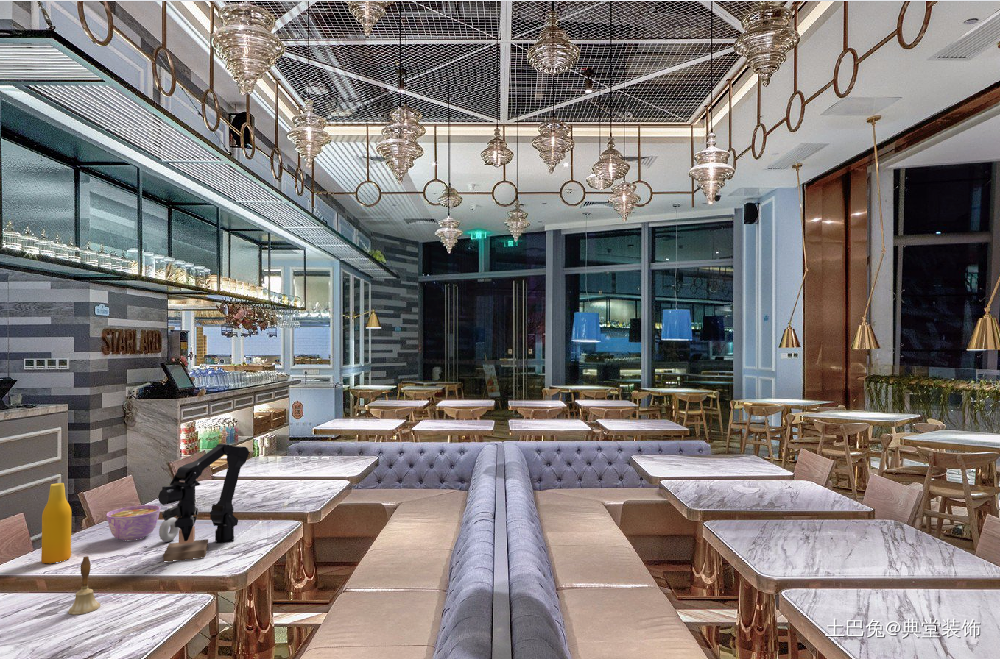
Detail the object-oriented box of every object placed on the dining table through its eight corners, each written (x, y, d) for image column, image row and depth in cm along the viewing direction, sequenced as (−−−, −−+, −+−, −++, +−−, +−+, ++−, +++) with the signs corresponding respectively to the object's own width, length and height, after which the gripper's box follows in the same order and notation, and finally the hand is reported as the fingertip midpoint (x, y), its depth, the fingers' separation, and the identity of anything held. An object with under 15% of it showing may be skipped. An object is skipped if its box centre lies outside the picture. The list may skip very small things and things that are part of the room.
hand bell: (78, 604, 189) (79, 553, 189) (106, 602, 189) (106, 552, 190) (61, 615, 180) (62, 562, 181) (90, 614, 181) (91, 561, 182)
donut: (164, 545, 245) (164, 520, 246) (156, 545, 246) (157, 520, 246) (181, 537, 255) (181, 514, 256) (173, 537, 256) (173, 513, 256)
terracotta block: (194, 538, 238) (194, 526, 238) (193, 542, 233) (193, 529, 233) (180, 540, 236) (180, 527, 236) (178, 544, 231) (178, 531, 231)
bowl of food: (96, 547, 244) (97, 518, 244) (117, 532, 263) (117, 506, 264) (150, 543, 248) (151, 515, 248) (167, 529, 267) (167, 503, 268)
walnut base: (208, 546, 243) (208, 539, 243) (204, 557, 230) (204, 549, 230) (169, 551, 238) (169, 543, 238) (163, 562, 225) (163, 554, 225)
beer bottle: (36, 565, 223) (37, 487, 224) (47, 557, 232) (48, 482, 233) (65, 563, 226) (66, 485, 227) (75, 555, 235) (76, 480, 236)
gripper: (167, 495, 241) (167, 534, 240) (159, 506, 223) (159, 548, 223) (198, 492, 245) (198, 531, 244) (192, 503, 227) (192, 545, 227)
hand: (186, 538), depth 234 cm, fingers closed on terracotta block, 5 cm apart
